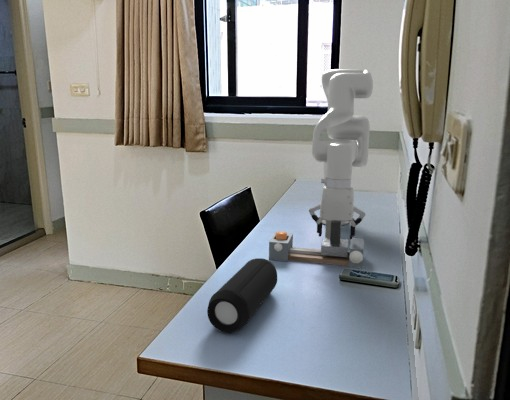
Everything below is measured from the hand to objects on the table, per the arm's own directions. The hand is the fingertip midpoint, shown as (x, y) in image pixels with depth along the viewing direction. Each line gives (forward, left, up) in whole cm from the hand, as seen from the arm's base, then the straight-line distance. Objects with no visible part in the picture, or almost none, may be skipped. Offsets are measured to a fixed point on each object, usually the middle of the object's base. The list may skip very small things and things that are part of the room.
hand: (335, 236), depth 146 cm
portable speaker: (+39, -19, -8) cm, 44 cm away
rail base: (0, -6, -8) cm, 10 cm away
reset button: (0, -17, -4) cm, 18 cm away
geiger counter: (-20, -3, -8) cm, 22 cm away
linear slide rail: (0, -6, -8) cm, 10 cm away
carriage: (0, 0, -5) cm, 5 cm away
